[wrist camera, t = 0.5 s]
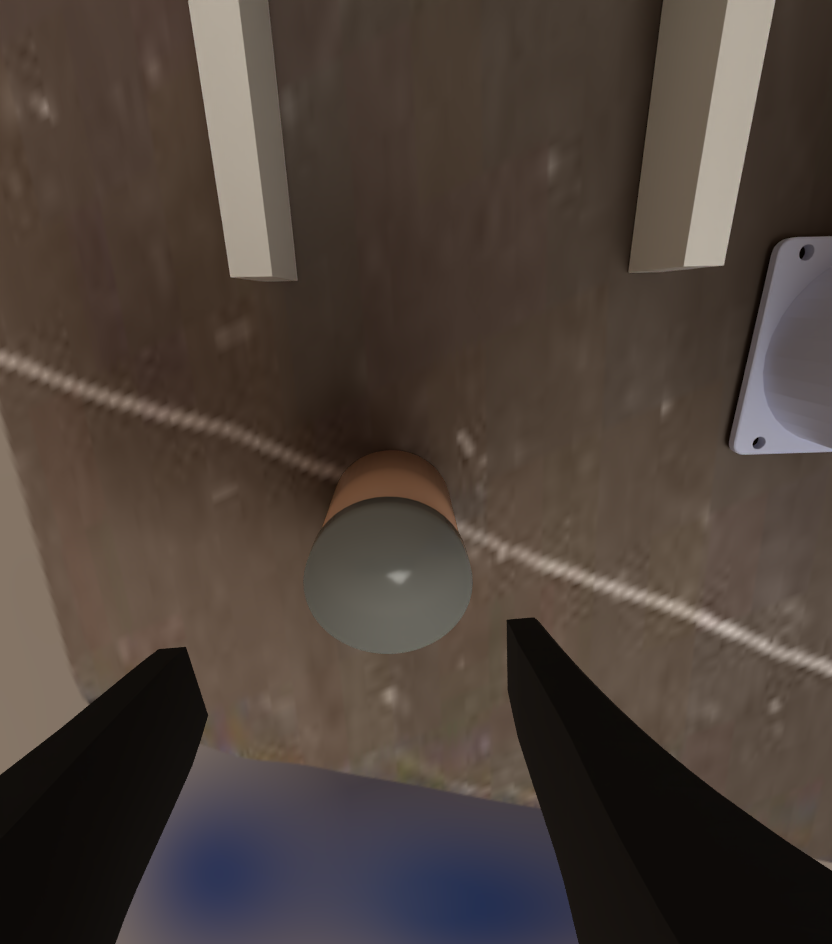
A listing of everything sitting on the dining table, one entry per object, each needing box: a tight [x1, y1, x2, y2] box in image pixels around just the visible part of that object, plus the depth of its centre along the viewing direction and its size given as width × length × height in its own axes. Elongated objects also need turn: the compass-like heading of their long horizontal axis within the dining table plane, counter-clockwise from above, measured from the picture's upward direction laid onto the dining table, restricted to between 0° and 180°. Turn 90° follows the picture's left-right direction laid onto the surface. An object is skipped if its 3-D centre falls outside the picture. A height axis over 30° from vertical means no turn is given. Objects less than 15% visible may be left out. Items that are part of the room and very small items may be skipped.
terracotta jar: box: [303, 450, 473, 654], centre depth 17 cm, size 5×5×6 cm
